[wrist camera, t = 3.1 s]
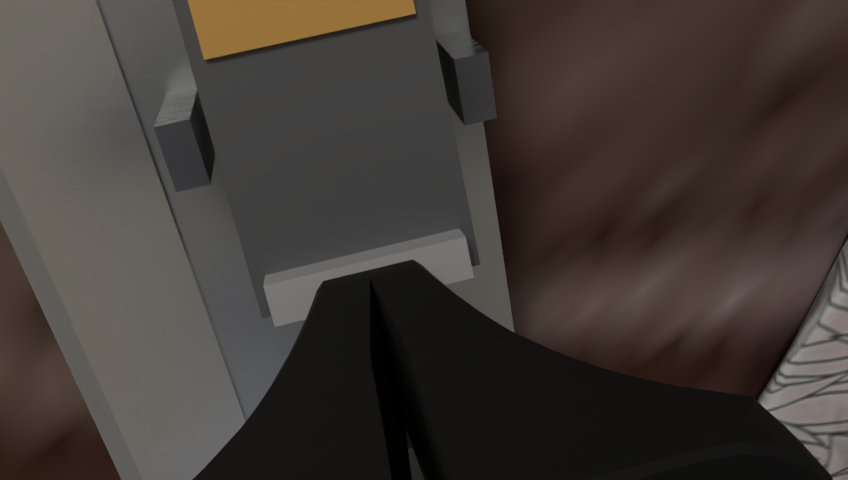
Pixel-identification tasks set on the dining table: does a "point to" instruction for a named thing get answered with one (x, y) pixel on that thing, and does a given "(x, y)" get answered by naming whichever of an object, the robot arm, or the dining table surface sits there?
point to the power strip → (168, 222)
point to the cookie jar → (818, 376)
